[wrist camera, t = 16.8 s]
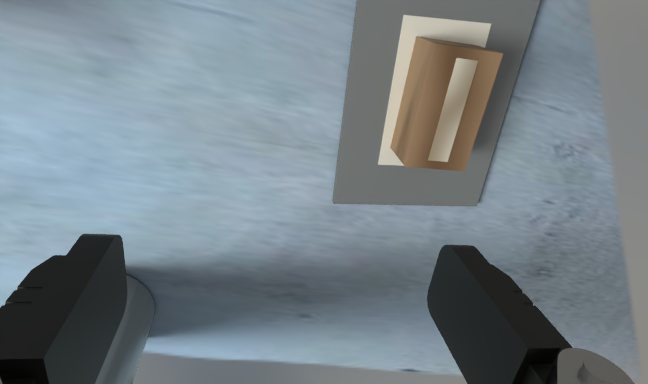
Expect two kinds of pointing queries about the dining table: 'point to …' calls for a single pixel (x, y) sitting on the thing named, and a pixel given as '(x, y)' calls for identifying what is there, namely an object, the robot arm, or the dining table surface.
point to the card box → (443, 103)
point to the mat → (387, 89)
